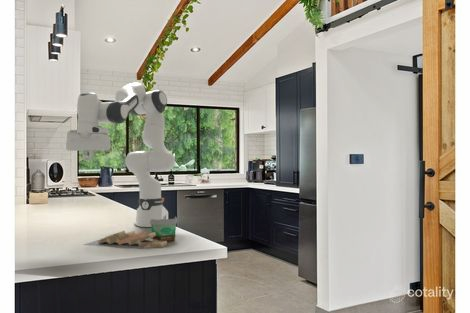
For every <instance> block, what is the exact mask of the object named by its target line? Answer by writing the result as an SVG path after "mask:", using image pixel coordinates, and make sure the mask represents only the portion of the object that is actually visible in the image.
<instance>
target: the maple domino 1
mask: <svg viewBox="0 0 470 313" xmlns="http://www.w3.org/2000/svg"><path fill="white" fill-rule="evenodd" d="M125 234H127V233H126V230H122V231H119V232H116V233H114V234H111V235H108V236H105V237H103V238H100V239H97V240H98V243H99V244H101V243H103V242H106V241H109V240H111V239H114V238H117V237H119V236H122V235H125Z"/></svg>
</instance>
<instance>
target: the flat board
mask: <svg viewBox="0 0 470 313" xmlns="http://www.w3.org/2000/svg"><path fill="white" fill-rule="evenodd" d="M98 240H99V239H96V240H94V241H90V242H88V243H85V244H83V245H84V246H97V247H113V248H117V247H118V248H130V249H131V248H132V249H144V248H145V247H141V246H138V243H135V244H132V245H130V246H129V243H128V242H126V243H123V244H121V245H119V244H118V242H115V243H112V244H108V241H106V242H103V243H101V244H99V243H98Z"/></svg>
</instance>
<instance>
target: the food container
mask: <svg viewBox="0 0 470 313" xmlns="http://www.w3.org/2000/svg"><path fill="white" fill-rule="evenodd" d="M178 223H179V221H178V218H177V216H174V218H168V219H161V220H154V219H151V221H150V224H151V226H152V227H151V233H153V232H155V233H156V236H154V237H152V240H156V241H167V243H172V242H174V241H175V240H176V232H177V231H176V229H177V224H178Z"/></svg>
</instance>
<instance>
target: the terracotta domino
mask: <svg viewBox="0 0 470 313" xmlns="http://www.w3.org/2000/svg"><path fill="white" fill-rule="evenodd" d="M135 234H136V235H133V236H131V237H128V238H125V239H123V240H120V241H117V242H118V244H119V245H121V244H123V243H126V242H129V241H132V240H134V239H137V238H140V237H142V236H145V235H146V232H145V231H141V232H139V233H135Z"/></svg>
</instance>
